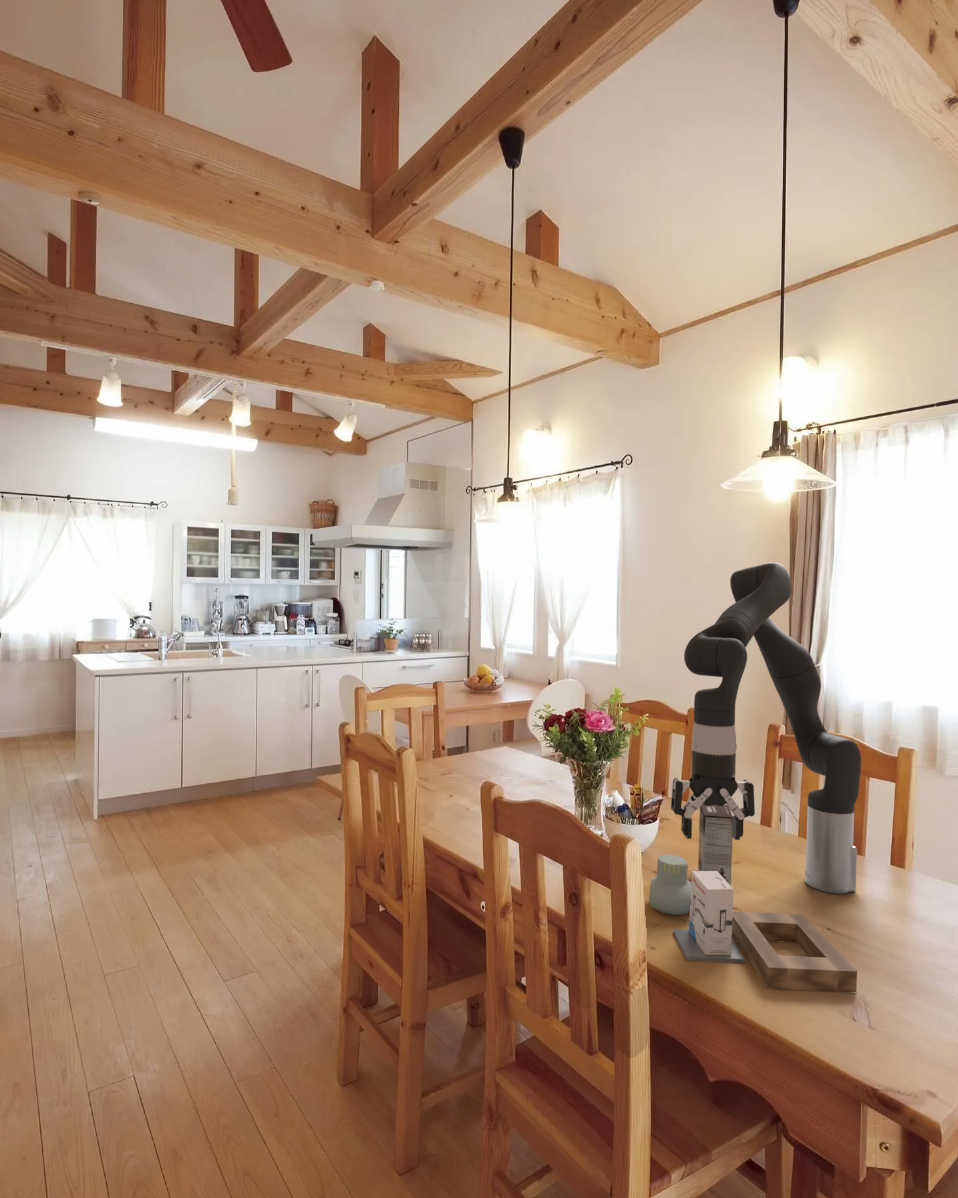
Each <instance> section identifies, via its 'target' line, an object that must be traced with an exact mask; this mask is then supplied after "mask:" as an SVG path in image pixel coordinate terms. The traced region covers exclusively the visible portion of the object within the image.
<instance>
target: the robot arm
mask: <svg viewBox="0 0 958 1198" xmlns="http://www.w3.org/2000/svg"><path fill="white" fill-rule="evenodd" d="M729 582H730V584H729V585H730V589H731V594H732V597H733V599H734V601H735V603H733V604H732V605H730V606H728V607H727V608H726V609H725V610H724V611H723V612H722V613H721V615H720V616H719V617H718V618H717V620H716V621H715V622H714V624H712V625H710V626H708V627H706V628H705V629H703V630H701V631H699V632H698V633H696V634H695V635H694V636H693V637H691V638H690V640H689V641H688V642H687V644H686V647H685V649H684V654H683V655H684V656H683V657H684V659H683V660H684V663H685V666H686V668H687V669H688V671H689V672H691V673H692V674H694V675H698V676H705V677H714V678H715V677H716V678H721V682H720V684H719V686H717V687H714V688H704V689H700V690H698V691H696V693H695V694H694V703H693V727H692V735H691V765H690V767H691V768H690V769H691V771H690V772H691V774H690V778H689V780H687V779H686V780H685V779H679V778H678V777H675V778H673V780H672V787H671V788H672V790H671V799H670V801H671V802H670V809H671V811H672V812H673V813H674V815H678V816H681V821H680V823H681V825H680V827H681V832H682V834H683V836H684V837H685V838H686V839H687V840H691V839H692V838H693V837H692V836H693V835H692V833H693V830H692V829H693V818H692V816H693V814H694V813H695V812H696V811H697V810H700V806H701V805H702V804H704V805H705V806H711V805H717V806H723V805H727V806H728V807H729V808H730V811H731V813H732V837H733V839H734V840H735V841H739V840H740V839H741V837H743V835H744V820H745V818H748V817H754V816H755V815H756V814H755V812H756V811H755V806H756V805H755V787H754V786H755V785H754V784H753V782H750V780H748V779H742V781H737V780H736V765H737V764H736V762H737V761H736V759H737V756H736V754H737V746H738V745H737V732H736V702H737V697H738V691H739V688H740V685H741V684H740V683H741V682H742V681H741V680H742V677H743V674H744V673H745V669H746V666H747V662H748V651H747V649H746V648H747V647H748V645H749V643H750V641H751V640H752V638H754V640H755V642H756V644H757V646H758V649H759V651H760V653H761V656H762V657H763V661H764V663H765V665H766V668H767V671H768V674H769V676H770V678H771V681H772V683H773V685H774V687H775V690H776V692H777V693H778V696H779V699H780V701H781V703H782V705H783V708H784V711H785V713H786V715H787V718H788V720H789V722H790V726H791V729H792V732H793V735H794V739H795V742H796V747H797V749H798V753H799V755H800V757H801V760H802V762H803V764H804V767H806V768H807V769H809V770H810V771H811V772H813V773H816V774H817V775H821V776H824V785H823V788H819V789H813V790H811V791H810V792H809V793H808V795H807V810H806V811H807V813H806V814H807V815H806V816H807V817H806V845H805V846H806V849H805V869H804V870H805V871H804V872H805V873H804V874H805V877H804V878H805V879H804V880H805V881H804V882H805V883H806V884H807V885H808V886H809V887H811V888H813V889H816V890H818V891H822V892H825V893H830V894H847V893H849V892H856V891H857V864H858V863H857V861H858V849H857V846H855V845H854V830H855V829H854V826H855V804H856V802H857V799H858V798H859V791H860V781H861V771H862V757H861V756H862V755H861V751H860V748H859V746H858V744H857V743H856V742H855V741H854V740H851V739H849V738H846V737H843V736H838V735H835V734H830V733H828V732H827V730H826V728H825V727H824V724H823V723H822V719H821V717H820V715H819V712H818V704H819V699H820V695H821V690H822V689H821V688H822V681H821V678H820V675H819V672H818V669H817V667H816V664H815V662H814V660H813V658H812V656H811V653H810V652H809V651H808V650H807V648H805V647H804V646H803V645H802V644H801V643H800V642H798V641H797V640H795V639H794V638H793V637H791V636H790V635H788V634H787V633H786V632H785V631H783V630H782V629H780V628H779V627H778V626H777V625H776V624H775V623H774V622H773V621H772V620H771V619H770V616H772V615H773V614H774V613H775V612H776V611H777V610H779V609H780V608H781V607H783V605H785V604H786V603H787V602H788V601H789V600H790V598H791V595H792V591H793V590H792V589H793V587H792V580H791V577H790V574H789V572H788V570H787V569H786V567H785V566H784V565H783V564H782V563H778V562H774V561H773V562H765V563H762V564H757V565H754V566H750V567H746V568H743V569H739V570H736V571H734V572H733V573H732V574H731V577H730V581H729ZM688 788H690V790H691V792H692V793H691V794H690V796H688V798H687V801H686V802H685V803H684V804H682V800H683V794H684V793H686V792H687V789H688ZM738 789H739V792H740V793H741V794H742V806H743V807H741V808H740V807H739V806H738V804H737V803H736V801H735V800H734V799H733V796H734V794H735V793H736V792H737V790H738ZM682 805H683V806H682Z"/></svg>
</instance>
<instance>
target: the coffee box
mask: <svg viewBox="0 0 958 1198" xmlns="http://www.w3.org/2000/svg"><path fill="white" fill-rule="evenodd" d="M732 816H733V812H732V811H731V809H730V808H729V807H728V806H727V804H725V805H723V806H717V805H711V806H705V805H704V804H702V805H701V806H700V807H699V822H698V823H699V825H698V831H699V832H698V857H697V858H698V859H697V860H698V861H697V871H717V872H719V874H720V875H721V876H722V877H723V878H724V879H725V880H726V881H727V882H728V884H729V885H730V886H731V887H732V865H733V863H732V862H733V861H732V859H733V839H734V838H733V837H732Z"/></svg>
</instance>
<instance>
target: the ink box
mask: <svg viewBox="0 0 958 1198" xmlns="http://www.w3.org/2000/svg"><path fill="white" fill-rule="evenodd" d="M690 882H691V902H690V912H689V922H688V923H689V924H688V930H689V933H690V934H691V936H692V937H693V938H694V940H695V941H696V943H697V944H698V945H699V947H700V948H701V950H702V951H703V952H704V954H705V955H731V942H732V940H733V938H732V937H733V935H732V918H733V912H734V894H735V892H734V888H733V886H732V885H731V886H730V885H729V884H728V882H727V881H726V880H725V879H724V878H723V877H722V876H721V875H720V874H719V872H717V871H698V870H692V871H691V881H690Z"/></svg>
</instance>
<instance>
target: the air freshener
mask: <svg viewBox="0 0 958 1198" xmlns="http://www.w3.org/2000/svg"><path fill="white" fill-rule="evenodd" d="M656 862H657V864H656V865H657V866H656V867H657V868H656V876H653V877H651V878H650V885H649V896H648V897H649V901H648V902H649V903H648V904H649V905H650V906H651V907H652V908H653V909H655V910H657V911H659V912H660V913H662V914H666V915H670V916H671V915H672V916H681V915H682V916H683V915H685V914H690V902H691V882H692V881H690V880H688V866H689V865H688V861H687V860H686V859H685V858H684V857H681V856H678V855H674V854H663V855H661V856H659V857H658V858H657V861H656Z"/></svg>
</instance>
